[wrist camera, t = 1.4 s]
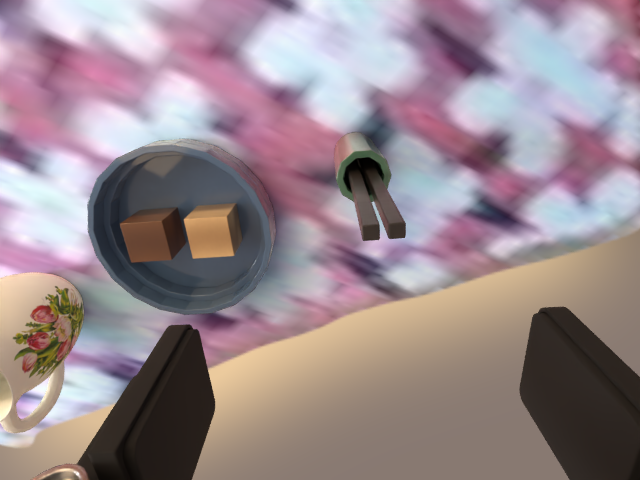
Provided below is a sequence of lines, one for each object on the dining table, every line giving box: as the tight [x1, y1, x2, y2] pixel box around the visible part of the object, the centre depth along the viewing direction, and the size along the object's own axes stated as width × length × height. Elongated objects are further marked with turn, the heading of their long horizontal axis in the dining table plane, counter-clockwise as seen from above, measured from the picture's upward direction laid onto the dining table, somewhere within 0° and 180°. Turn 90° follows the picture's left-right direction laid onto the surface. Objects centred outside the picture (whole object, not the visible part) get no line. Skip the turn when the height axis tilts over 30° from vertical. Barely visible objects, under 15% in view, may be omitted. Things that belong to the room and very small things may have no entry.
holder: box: [334, 132, 391, 202], centre depth 32 cm, size 4×4×10 cm
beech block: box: [184, 203, 243, 259], centre depth 37 cm, size 4×4×4 cm
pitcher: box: [0, 272, 84, 433], centre depth 38 cm, size 11×18×14 cm, turn 6°
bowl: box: [87, 139, 276, 315], centre depth 38 cm, size 17×17×4 cm
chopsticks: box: [347, 157, 406, 241], centre depth 27 cm, size 1×2×20 cm, turn 94°
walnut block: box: [120, 207, 186, 263], centre depth 37 cm, size 4×4×4 cm
